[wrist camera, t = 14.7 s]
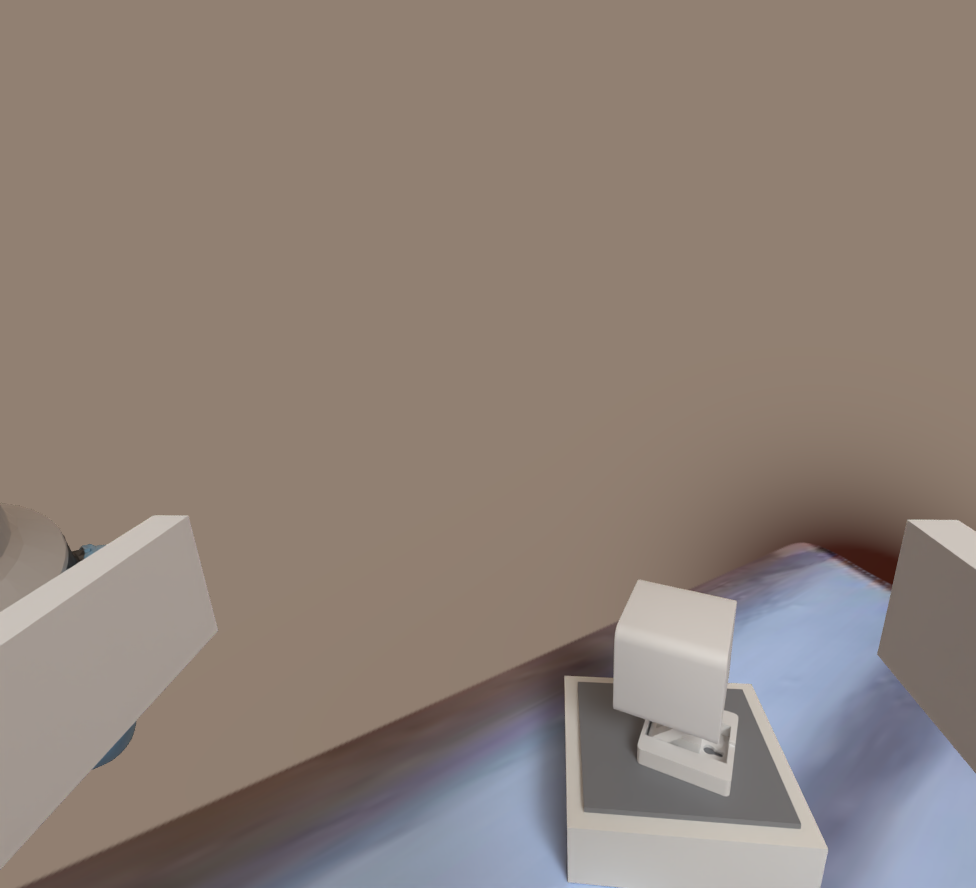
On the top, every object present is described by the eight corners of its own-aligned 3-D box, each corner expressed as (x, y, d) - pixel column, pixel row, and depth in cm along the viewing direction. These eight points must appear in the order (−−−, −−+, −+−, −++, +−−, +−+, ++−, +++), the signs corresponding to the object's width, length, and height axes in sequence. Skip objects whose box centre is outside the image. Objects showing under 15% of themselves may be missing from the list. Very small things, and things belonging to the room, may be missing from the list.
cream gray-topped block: (567, 882, 32) (567, 822, 30) (564, 721, 43) (564, 671, 42) (816, 906, 30) (829, 843, 28) (745, 731, 41) (752, 679, 40)
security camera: (634, 691, 39) (639, 574, 36) (737, 724, 36) (752, 599, 33) (610, 758, 34) (613, 629, 31) (728, 804, 31) (745, 664, 28)
